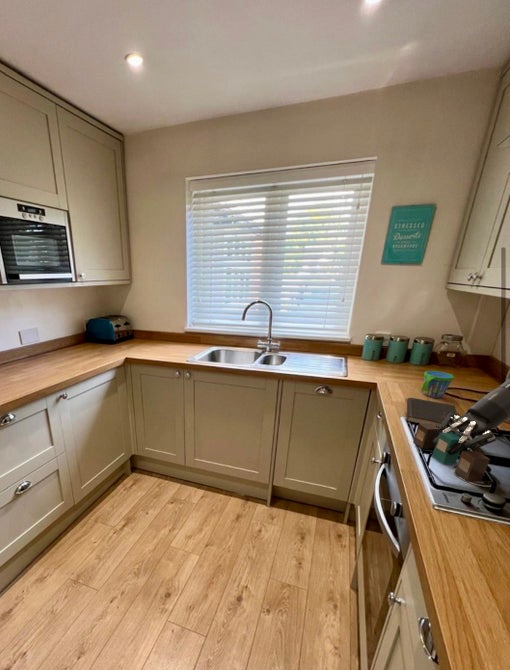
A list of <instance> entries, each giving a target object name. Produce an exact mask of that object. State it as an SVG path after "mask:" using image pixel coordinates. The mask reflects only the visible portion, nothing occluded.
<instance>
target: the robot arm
mask: <svg viewBox="0 0 510 670" xmlns="http://www.w3.org/2000/svg"><path fill="white" fill-rule="evenodd" d="M508 419H510V378H508V379H507V380H505V381H504V382H503V383H501V384H500V385H499V386H498V387H496V388H495V389H493V390H491V391H489V392H488V393H487V394H485V395H484V396H483V397H482V398H480V399H479V400H478V401H477V402H475V403H473V404H472V405H471V406H470V407H469V408H468V409H467V410H466V412H465V413H463V414H460V415H458V416H456V415H454V414H453V413H449V414H448V416H447V417H446V418H445V420H444V421H443V423H442V424H441V425H440V427H439V428H440V429H441V430H440V432H441V433H449V432H453V433H455V434H456V435H458V436H460V435H462V436H460V437H461V438H460V440H459V442H456V443H454V444H453V445H452V446H450V447H449V448H447V449H446V452H447V453H448V454H449V455H450V456H451V455H454V454H456V453H458V452H459V451H460V450H461V451H463V449H466V448H467V449H469V450H470V451H475V450H476V449H479V448H481V447H484V446H487V445H489V444H492V443H494V442H496V441H497V438H496V436H495V435H494V433H493V432H492V430H494V429H496V428H497V427H500V425H501V424H503V423H504V422H505V421H507V420H508ZM456 421H458V422H456ZM456 428H457V429H458V430H456ZM438 437H439V436H438ZM438 437H436V438H435V439H434V440H433V444H434V445H435V446H436V443H437V440H438ZM461 451H460V452H461Z"/></svg>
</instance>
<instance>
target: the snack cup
mask: <svg viewBox="0 0 510 670" xmlns="http://www.w3.org/2000/svg"><path fill="white" fill-rule="evenodd" d="M423 376H424V378H423V384H422V385H421V390H422V394H423V395H424V396H425V397H429V398H433V399H442V398H444V396H445V394H446V393H447V390H448V388H449V386H450V385H451V383H452V381H453V380H454V379H455V376H454V375H453V374H451V373H448V372H444V371H439V370H426V371H425V372H424V373H423Z"/></svg>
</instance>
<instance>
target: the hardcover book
mask: <svg viewBox="0 0 510 670" xmlns="http://www.w3.org/2000/svg"><path fill="white" fill-rule="evenodd" d="M449 413H453V414H454V415H456V416H459V413H458V411H457V408H456V405H455V404H449V403H443V402H438V401H432V400H428V399H427V400H426V399H421V398H415V397H408V398H407V401H406V421H407V422H408V421H412V422H417V423H431V424H433V425H435V426H437V427H440V425H441V424H442V423H443V421H444V420H445V418H446V417H447V416H448V414H449ZM456 422H458V421H456ZM456 430H458V429H457V428H456Z"/></svg>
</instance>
